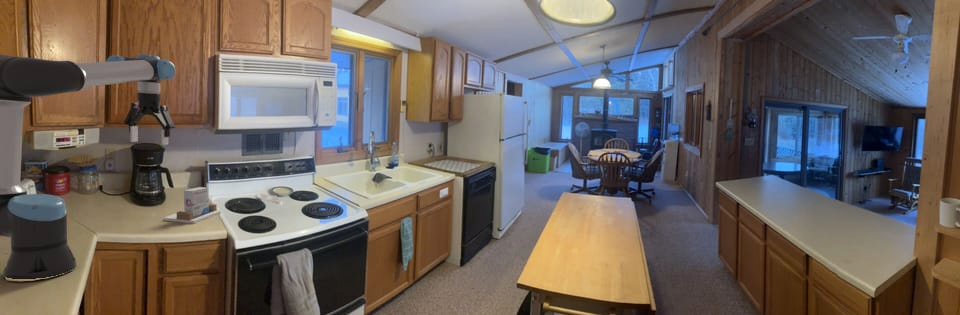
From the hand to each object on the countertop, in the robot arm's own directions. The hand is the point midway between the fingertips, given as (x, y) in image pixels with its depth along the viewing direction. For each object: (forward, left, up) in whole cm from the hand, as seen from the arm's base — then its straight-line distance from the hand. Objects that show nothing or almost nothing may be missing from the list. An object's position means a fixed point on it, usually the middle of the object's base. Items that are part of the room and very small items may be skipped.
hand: (149, 143), depth 174 cm
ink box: (+10, -13, -33) cm, 36 cm away
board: (+10, -11, -34) cm, 37 cm away
